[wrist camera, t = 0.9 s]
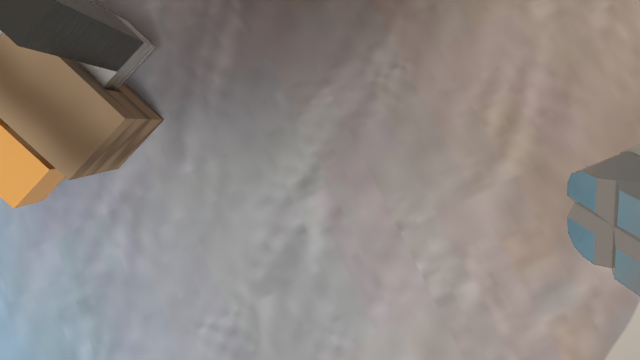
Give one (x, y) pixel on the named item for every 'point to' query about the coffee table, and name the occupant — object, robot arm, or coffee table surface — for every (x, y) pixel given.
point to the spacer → (23, 170)
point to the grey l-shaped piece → (77, 36)
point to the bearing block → (70, 112)
